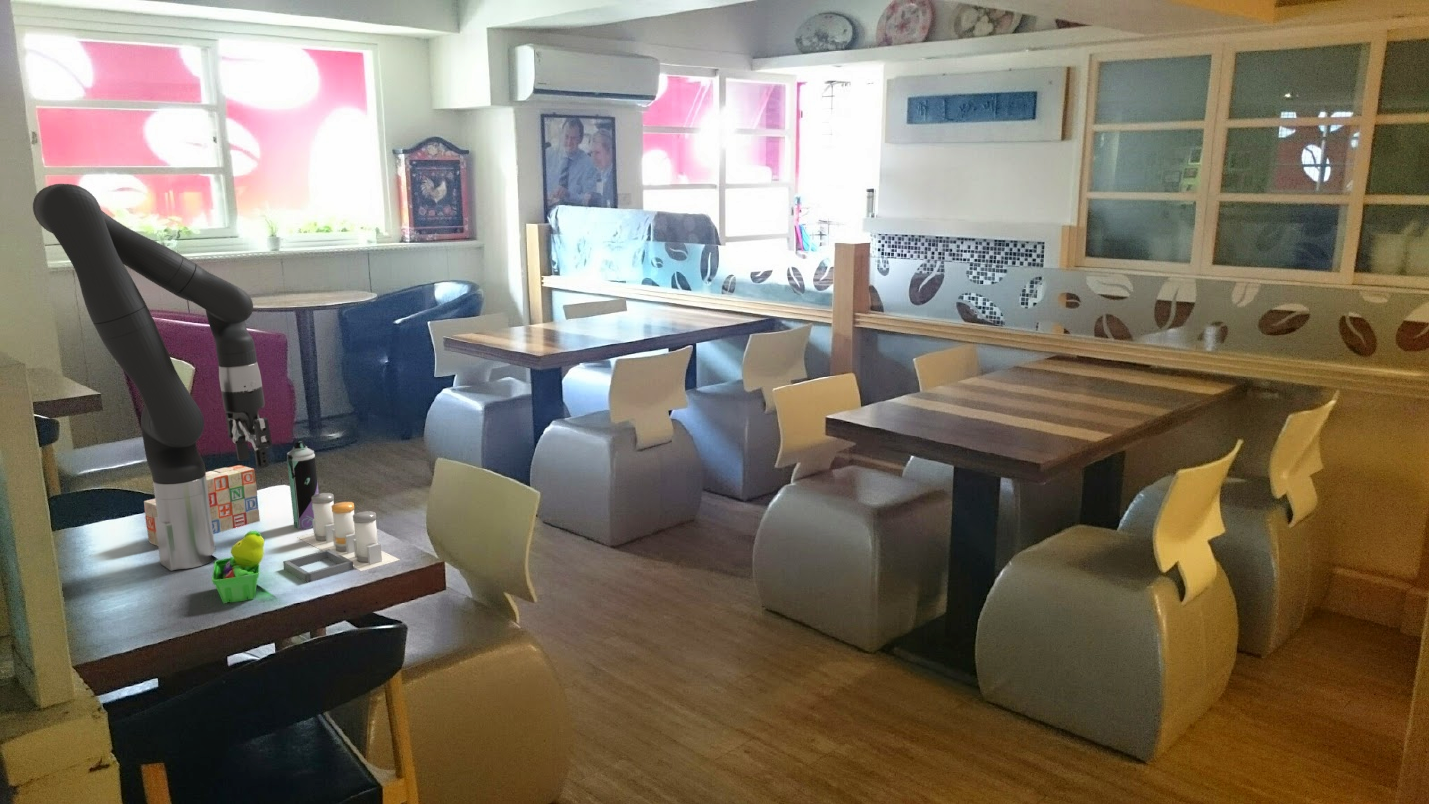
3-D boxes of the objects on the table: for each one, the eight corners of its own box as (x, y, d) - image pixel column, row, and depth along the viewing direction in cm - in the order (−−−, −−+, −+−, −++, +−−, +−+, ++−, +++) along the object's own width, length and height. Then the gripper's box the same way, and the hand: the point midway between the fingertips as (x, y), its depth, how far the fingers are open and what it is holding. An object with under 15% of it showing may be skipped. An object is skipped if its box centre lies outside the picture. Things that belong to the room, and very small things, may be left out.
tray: (307, 590, 187) (306, 574, 187) (284, 576, 194) (283, 561, 194) (354, 576, 194) (352, 561, 193) (330, 563, 200) (328, 549, 200)
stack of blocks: (163, 549, 210) (155, 492, 208) (148, 543, 214) (140, 487, 211) (260, 521, 227) (254, 467, 225) (245, 516, 231) (239, 463, 228)
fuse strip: (361, 578, 192) (359, 553, 191) (297, 544, 212) (295, 521, 211) (400, 567, 198) (398, 542, 197) (334, 534, 217) (332, 511, 216)
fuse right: (363, 564, 196) (359, 519, 194) (353, 559, 198) (348, 514, 197) (383, 558, 198) (379, 514, 197) (373, 553, 201) (369, 509, 199)
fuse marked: (341, 553, 202) (337, 509, 200) (332, 548, 205) (327, 505, 203) (361, 547, 205) (357, 504, 203) (351, 543, 208) (347, 500, 206)
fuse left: (321, 542, 208) (317, 500, 206) (312, 538, 211) (307, 496, 209) (341, 537, 211) (337, 495, 209) (331, 533, 214) (327, 491, 212)
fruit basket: (217, 585, 190) (210, 528, 188) (269, 578, 194) (262, 521, 191) (215, 608, 180) (207, 547, 178) (269, 599, 184) (262, 539, 181)
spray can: (312, 536, 216) (303, 445, 212) (289, 535, 217) (279, 444, 213) (327, 528, 221) (318, 438, 217) (304, 526, 223) (295, 437, 218)
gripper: (207, 385, 206) (219, 462, 210) (238, 394, 197) (251, 474, 201) (244, 378, 212) (255, 453, 215) (276, 386, 202) (287, 465, 206)
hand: (253, 463), depth 208 cm, fingers open, 8 cm apart
